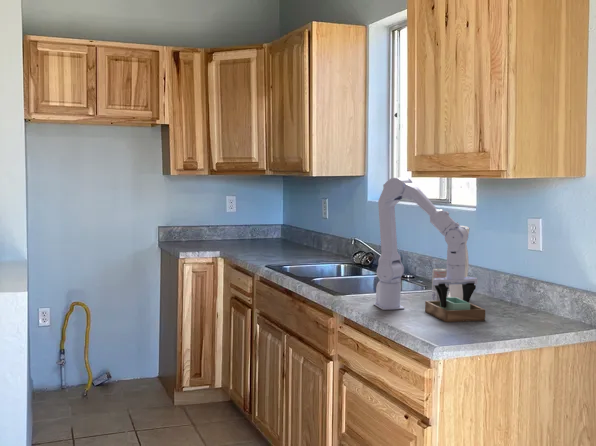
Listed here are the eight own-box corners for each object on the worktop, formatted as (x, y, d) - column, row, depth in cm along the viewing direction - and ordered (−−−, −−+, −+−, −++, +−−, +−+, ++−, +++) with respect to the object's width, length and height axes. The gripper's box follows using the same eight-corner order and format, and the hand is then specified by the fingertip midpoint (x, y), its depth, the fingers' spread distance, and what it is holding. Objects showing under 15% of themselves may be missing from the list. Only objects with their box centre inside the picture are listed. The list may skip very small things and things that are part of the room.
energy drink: (444, 301, 244) (445, 268, 243) (448, 304, 239) (449, 270, 238) (429, 301, 244) (430, 268, 243) (433, 304, 238) (434, 270, 237)
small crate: (440, 311, 225) (440, 297, 225) (455, 310, 226) (455, 297, 226) (453, 317, 215) (454, 303, 215) (469, 317, 217) (470, 303, 216)
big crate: (425, 311, 227) (425, 301, 227) (462, 310, 230) (462, 299, 230) (445, 322, 212) (445, 311, 212) (484, 320, 215) (485, 309, 215)
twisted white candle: (447, 300, 247) (450, 222, 244) (443, 296, 254) (445, 220, 252) (469, 300, 247) (472, 222, 244) (464, 296, 254) (467, 221, 252)
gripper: (440, 267, 214) (438, 310, 215) (482, 266, 217) (481, 308, 218) (430, 263, 221) (429, 305, 222) (472, 262, 224) (470, 304, 225)
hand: (454, 306), depth 221 cm, fingers open, 7 cm apart
